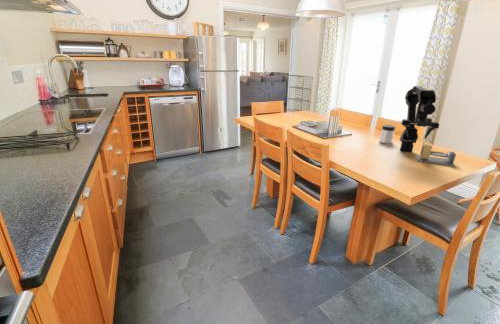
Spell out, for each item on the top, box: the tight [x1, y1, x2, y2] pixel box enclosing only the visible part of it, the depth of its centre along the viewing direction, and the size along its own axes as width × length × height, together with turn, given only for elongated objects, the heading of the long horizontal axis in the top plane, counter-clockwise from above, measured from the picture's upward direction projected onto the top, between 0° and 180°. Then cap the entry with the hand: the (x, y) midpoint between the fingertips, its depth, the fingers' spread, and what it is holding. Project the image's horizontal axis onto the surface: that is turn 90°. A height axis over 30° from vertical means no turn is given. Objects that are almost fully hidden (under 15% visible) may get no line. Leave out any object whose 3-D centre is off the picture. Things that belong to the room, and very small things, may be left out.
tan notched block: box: [419, 142, 433, 160], centre depth 166 cm, size 4×6×8 cm, turn 155°
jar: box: [379, 124, 396, 144], centre depth 200 cm, size 9×8×12 cm
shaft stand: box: [416, 150, 457, 167], centre depth 164 cm, size 18×10×6 cm, turn 65°
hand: (416, 137), depth 165 cm, fingers open, 9 cm apart
